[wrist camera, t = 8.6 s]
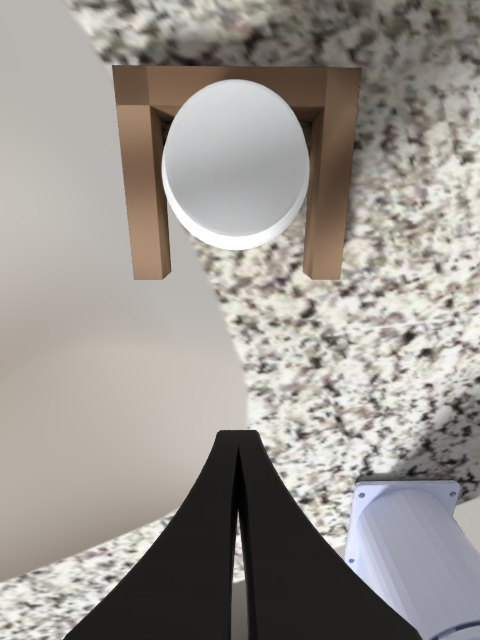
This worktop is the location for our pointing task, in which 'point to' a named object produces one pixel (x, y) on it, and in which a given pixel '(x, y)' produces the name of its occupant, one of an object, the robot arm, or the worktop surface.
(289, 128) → the supplement bottle
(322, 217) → the wooden u-shaped bracket
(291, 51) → the worktop surface
